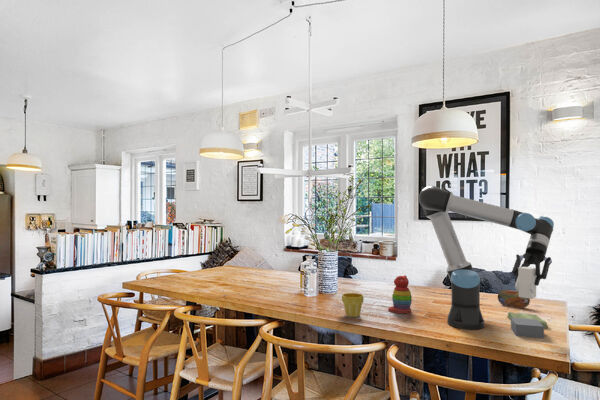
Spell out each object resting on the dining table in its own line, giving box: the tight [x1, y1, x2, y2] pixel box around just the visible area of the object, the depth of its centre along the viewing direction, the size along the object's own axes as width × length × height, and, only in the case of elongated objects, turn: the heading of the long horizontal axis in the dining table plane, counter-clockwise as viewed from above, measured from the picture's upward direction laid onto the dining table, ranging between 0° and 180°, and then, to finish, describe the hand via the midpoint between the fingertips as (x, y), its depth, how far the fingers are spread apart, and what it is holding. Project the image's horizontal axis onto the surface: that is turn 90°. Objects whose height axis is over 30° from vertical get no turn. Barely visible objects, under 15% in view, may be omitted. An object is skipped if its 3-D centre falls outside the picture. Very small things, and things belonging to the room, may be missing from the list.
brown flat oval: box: [497, 289, 531, 309], centre depth 208 cm, size 15×3×8 cm, turn 47°
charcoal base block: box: [510, 318, 545, 339], centre depth 164 cm, size 10×10×5 cm
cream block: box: [518, 266, 537, 300], centre depth 165 cm, size 5×5×12 cm
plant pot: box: [341, 292, 364, 318], centre depth 191 cm, size 10×10×10 cm
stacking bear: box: [388, 275, 412, 314], centre depth 199 cm, size 11×10×18 cm
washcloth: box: [506, 311, 549, 329], centre depth 180 cm, size 13×18×3 cm
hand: (524, 289), depth 162 cm, fingers closed on cream block, 5 cm apart
